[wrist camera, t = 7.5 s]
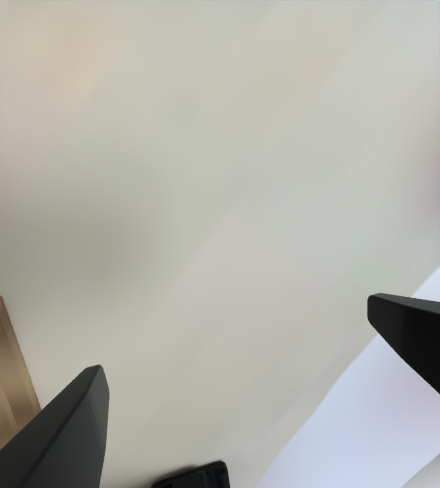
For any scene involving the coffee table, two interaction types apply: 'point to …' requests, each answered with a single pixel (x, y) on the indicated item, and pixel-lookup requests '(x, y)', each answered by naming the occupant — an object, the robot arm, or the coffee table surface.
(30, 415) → the beige mounting plate
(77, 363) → the coffee table surface
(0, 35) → the coffee table surface
